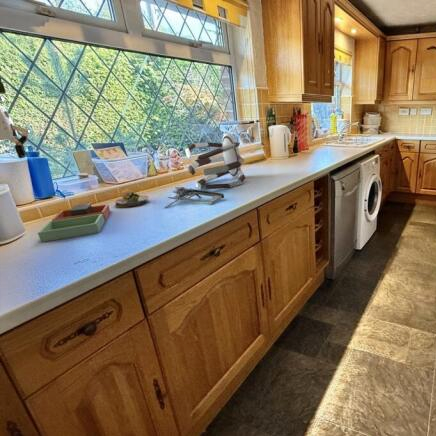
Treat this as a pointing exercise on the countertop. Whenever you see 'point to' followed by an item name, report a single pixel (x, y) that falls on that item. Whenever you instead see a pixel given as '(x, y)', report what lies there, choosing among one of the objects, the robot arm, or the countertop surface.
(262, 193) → the countertop surface
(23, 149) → the robot arm
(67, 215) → the far bin
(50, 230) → the near bin
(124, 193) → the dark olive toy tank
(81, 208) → the packet
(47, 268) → the countertop surface
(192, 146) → the jointed toy figure
